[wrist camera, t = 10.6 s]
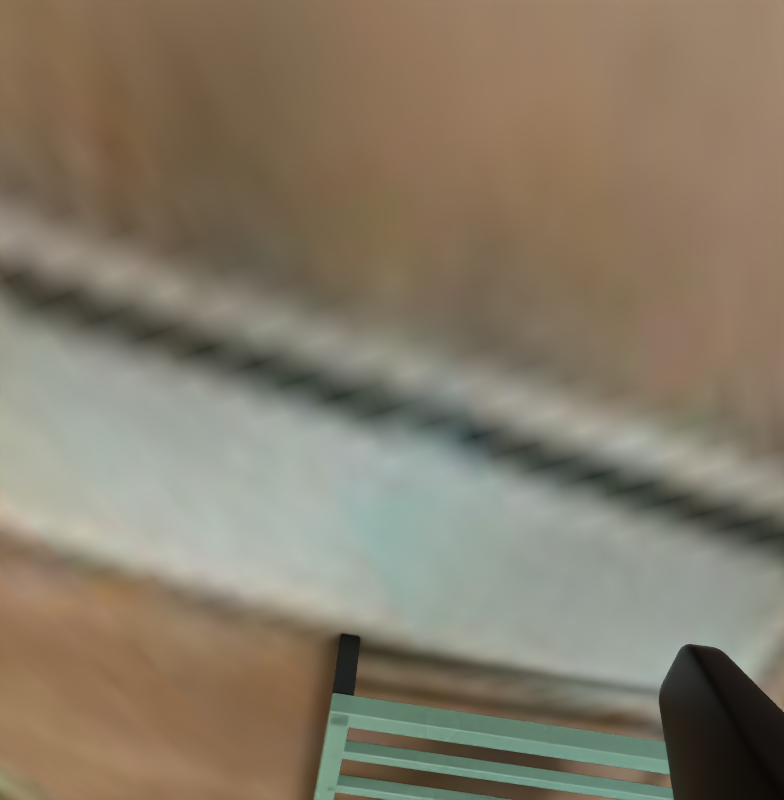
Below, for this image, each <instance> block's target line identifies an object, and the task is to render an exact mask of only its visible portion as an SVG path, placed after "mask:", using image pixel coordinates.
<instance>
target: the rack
mask: <svg viewBox="0 0 784 800" xmlns="http://www.w3.org/2000/svg"><path fill="white" fill-rule="evenodd" d="M359 646H360V637H355V636H349V635H341V637H340V643H339V648H338V655H337V662H336V669H335V676H334V683H333V690H332V696H331V704H330V709H329V715H328V720H327V726H326V732H325V737H324V743H323V748H322V754H321V759H320V765H319V771H318V776H317V782H316V787H315V793H314V798H313V800H334V797H335V793H336V792H337V793H344V794H351V795H358V796H364V797H371V798H378V799H385V800H514V799H507V798H500V797H493V796H486V795H479V794H472V793H465V792H458V791H451V790H444V789H437V788H431V787H424V786H417V785H410V784H403V783H396V782H389V781H382V780H375V779H368V778H361V777H354V776H347V775H341V774H339V773H340V768H341V764H342V759H347V760H354V761H360V762H367V763H374V764H381V765H388V766H395V767H402V768H409V769H416V770H422V771H429V772H436V773H443V774H450V775H457V776H464V777H471V778H477V779H484V780H491V781H498V782H505V783H512V784H519V785H526V786H533V787H539V788H546V789H553V790H560V791H567V792H574V793H581V794H588V795H595V796H601V797H608V798H615V799H622V800H674V798H673V791H672V788H669V787H662V786H655V785H649V784H642V783H635V782H628V781H621V780H614V779H608V778H601V777H594V776H587V775H580V774H573V773H567V772H560V771H553V770H546V769H539V768H532V767H525V766H519V765H512V764H505V763H498V762H491V761H484V760H478V759H471V758H464V757H457V756H450V755H443V754H437V753H430V752H423V751H416V750H409V749H402V748H396V747H389V746H382V745H375V744H368V743H361V742H355V741H348V740H346V739H347V735H348V730H349V728H356V729H363V730H370V731H377V732H383V733H390V734H397V735H404V736H411V737H417V738H424V739H431V740H438V741H445V742H452V743H458V744H465V745H472V746H479V747H486V748H492V749H499V750H506V751H513V752H520V753H526V754H533V755H540V756H547V757H554V758H560V759H567V760H574V761H581V762H588V763H594V764H601V765H608V766H615V767H622V768H628V769H635V770H642V771H649V772H656V773H663V774H669V775H670V772H669V765H668V758H667V752H666V745H665V742H661V741H654V740H647V739H641V738H634V737H627V736H620V735H614V734H607V733H600V732H593V731H587V730H580V729H573V728H567V727H560V726H553V725H546V724H540V723H533V722H526V721H519V720H513V719H506V718H499V717H493V716H486V715H479V714H472V713H466V712H459V711H452V710H445V709H439V708H432V707H425V706H419V705H412V704H405V703H398V702H392V701H385V700H378V699H371V698H365V697H358V696H354V690H355V681H356V673H357V664H358V655H359Z"/></svg>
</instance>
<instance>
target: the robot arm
mask: <svg viewBox="0 0 784 800" xmlns="http://www.w3.org/2000/svg"><path fill="white" fill-rule="evenodd" d="M659 705H660V713H661V719H662V726H663V732H664V739H665V745H666V752H667V758H668V765H669V772H670V778H671V785H672V791H673V798H674V800H784V712H783V711H782V710H781V709H780V708H779V707H778V706H777V705H776V704H775V703H774V702H773V701H772V700H771V699H770V698H769V697H768V696H767V695H766V694H765V693H764V692H763V691H762V690H761V689H760V688H759V687H758V686H757V685H756V684H755V683H754V682H753V681H752V680H751V679H750V678H749V677H748V676H747V675H746V674H745V673H744V672H743V671H742V670H741V669H740V668H739V667H738V666H737V665H736V664H735V663H734V662H733V661H732V660H731V659H730V658H729V657H728V656H727V655H726V654H725V653H724V652H723V651H721V650H720V649H717V648H715V647H708V646H701V645H693V644H687V645H685V646H683V647H682V648H681V649H680V651H679V652H678V654H677V656H676V658H675V660H674V662H673V664H672V666H671V668H670V669H669V671H668V673H667V675H666V677H665V679H664V681H663V683H662V685H661V689H660V694H659Z"/></svg>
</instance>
